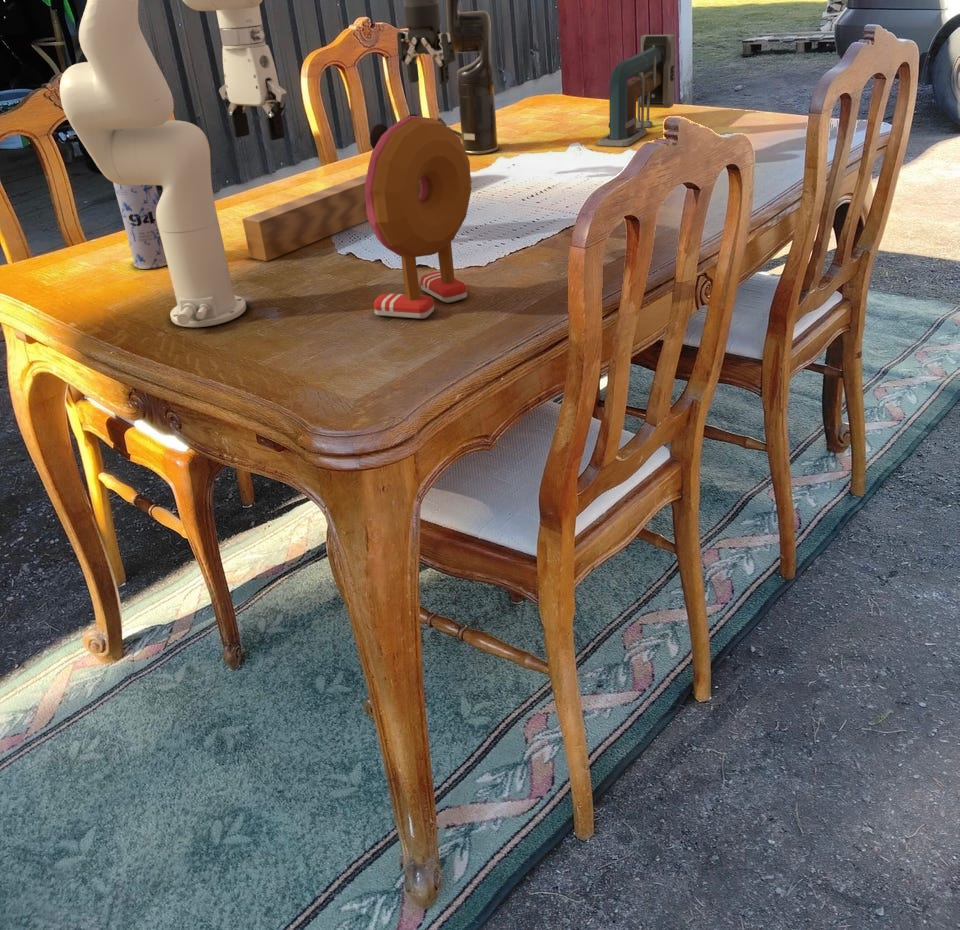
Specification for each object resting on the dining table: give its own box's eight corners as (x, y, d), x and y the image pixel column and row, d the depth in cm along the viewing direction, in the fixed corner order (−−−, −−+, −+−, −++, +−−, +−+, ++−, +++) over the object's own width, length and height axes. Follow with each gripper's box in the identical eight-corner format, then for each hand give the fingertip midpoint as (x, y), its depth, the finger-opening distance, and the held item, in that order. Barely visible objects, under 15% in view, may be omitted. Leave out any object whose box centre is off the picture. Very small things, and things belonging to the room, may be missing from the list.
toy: (445, 278, 171) (428, 100, 155) (490, 288, 165) (476, 104, 149) (359, 319, 157) (331, 128, 142) (404, 331, 151) (380, 133, 136)
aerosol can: (133, 271, 187) (105, 166, 177) (134, 259, 194) (107, 157, 184) (174, 264, 189) (149, 160, 179) (174, 253, 195) (150, 152, 185)
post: (266, 261, 187) (259, 221, 183) (250, 257, 189) (242, 218, 185) (465, 180, 229) (462, 146, 225) (449, 178, 231) (446, 145, 227)
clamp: (627, 146, 245) (627, 56, 234) (595, 145, 249) (593, 56, 238) (672, 117, 270) (675, 34, 260) (643, 116, 274) (644, 34, 263)
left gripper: (291, 35, 170) (306, 136, 178) (227, 35, 180) (244, 131, 188) (259, 40, 165) (276, 144, 173) (195, 40, 175) (214, 138, 183)
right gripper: (458, 0, 204) (464, 81, 212) (407, -1, 212) (415, 78, 220) (435, 5, 199) (443, 88, 207) (384, 4, 207) (393, 84, 215)
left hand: (259, 137), depth 181 cm, fingers open, 9 cm apart
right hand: (428, 82), depth 214 cm, fingers open, 8 cm apart
